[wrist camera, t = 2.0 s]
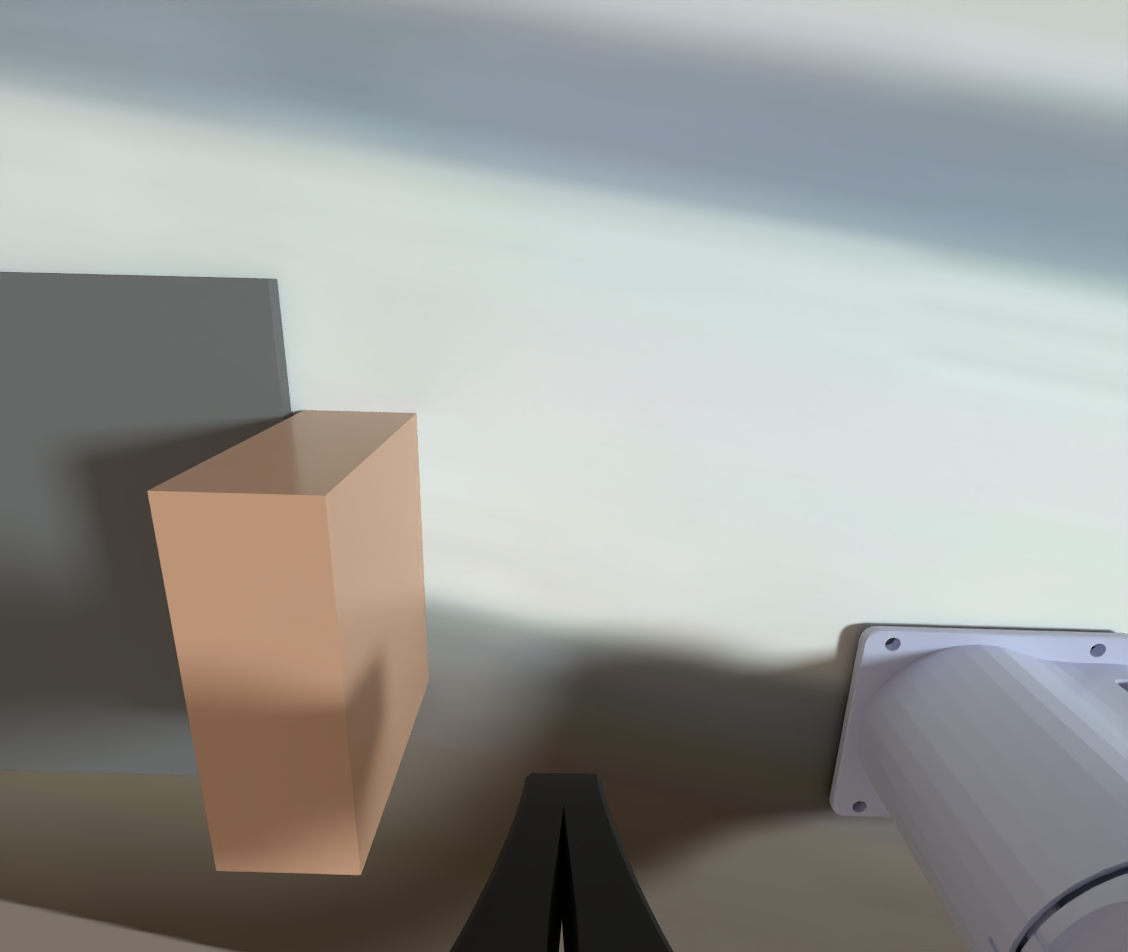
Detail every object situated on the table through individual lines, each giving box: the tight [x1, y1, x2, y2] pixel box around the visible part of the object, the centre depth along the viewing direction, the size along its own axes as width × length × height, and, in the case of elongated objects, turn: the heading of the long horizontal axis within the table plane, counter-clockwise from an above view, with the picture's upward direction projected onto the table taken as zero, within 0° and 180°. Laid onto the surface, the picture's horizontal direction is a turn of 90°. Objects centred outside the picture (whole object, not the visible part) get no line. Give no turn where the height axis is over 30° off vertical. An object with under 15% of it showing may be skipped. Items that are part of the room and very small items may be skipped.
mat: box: [0, 272, 292, 776], centre depth 21 cm, size 16×18×2 cm
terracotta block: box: [147, 410, 429, 875], centre depth 18 cm, size 4×10×8 cm, turn 179°
